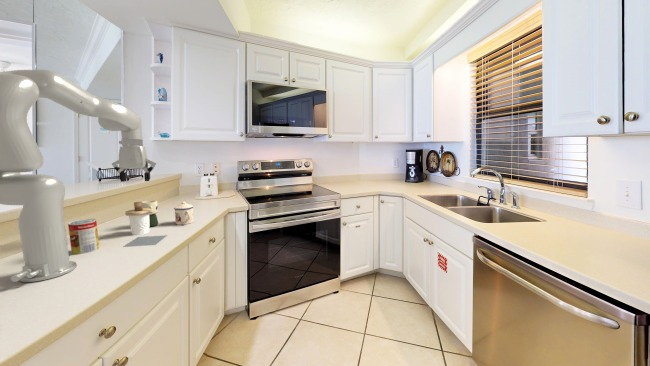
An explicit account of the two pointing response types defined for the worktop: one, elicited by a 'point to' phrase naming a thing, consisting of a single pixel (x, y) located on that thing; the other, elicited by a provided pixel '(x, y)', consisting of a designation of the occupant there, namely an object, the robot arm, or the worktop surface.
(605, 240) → the worktop surface
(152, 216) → the character mug
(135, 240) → the mat
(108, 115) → the robot arm
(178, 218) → the teacup with lid
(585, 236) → the worktop surface
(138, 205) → the lid
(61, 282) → the worktop surface
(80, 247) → the canned food
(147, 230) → the white cup
